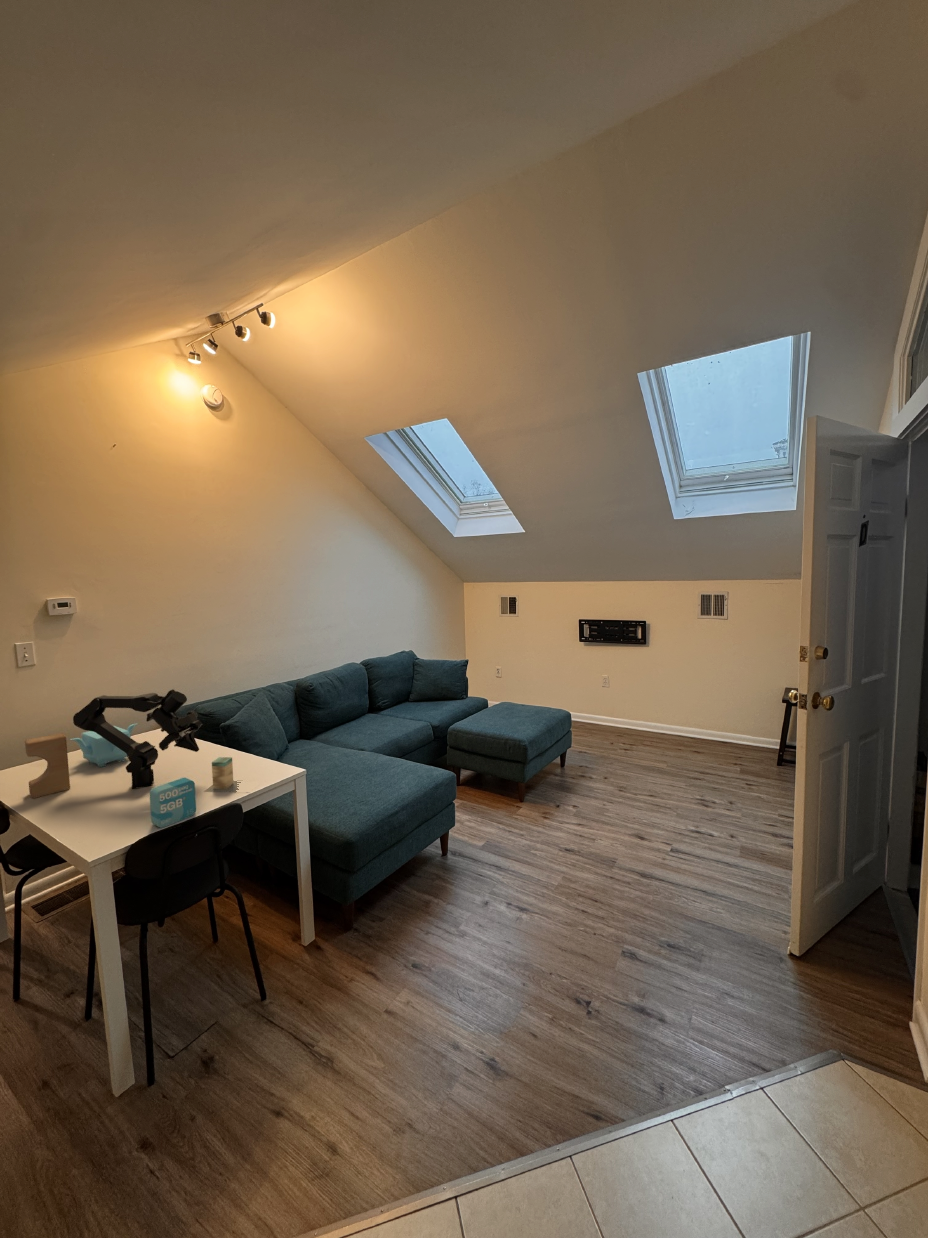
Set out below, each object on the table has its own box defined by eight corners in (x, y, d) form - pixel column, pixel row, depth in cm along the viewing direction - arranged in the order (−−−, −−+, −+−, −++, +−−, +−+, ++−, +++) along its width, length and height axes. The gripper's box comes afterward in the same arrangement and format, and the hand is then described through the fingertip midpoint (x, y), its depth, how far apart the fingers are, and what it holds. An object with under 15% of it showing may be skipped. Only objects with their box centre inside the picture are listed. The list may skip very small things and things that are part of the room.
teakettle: (122, 767, 207) (120, 732, 205) (69, 771, 202) (66, 735, 201) (140, 751, 225) (138, 718, 224) (92, 754, 221) (90, 721, 219)
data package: (158, 829, 158) (155, 792, 157) (151, 825, 161) (148, 789, 159) (196, 814, 168) (194, 779, 167) (189, 810, 171) (187, 776, 169)
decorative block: (30, 799, 179) (25, 743, 177) (29, 793, 183) (24, 739, 181) (70, 789, 186) (66, 736, 184) (68, 784, 190) (64, 732, 188)
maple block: (213, 788, 186) (211, 762, 185) (220, 782, 191) (219, 757, 190) (226, 789, 186) (224, 762, 185) (233, 783, 191) (232, 757, 190)
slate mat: (203, 792, 184) (203, 791, 184) (219, 781, 194) (218, 780, 194) (249, 794, 183) (249, 793, 183) (262, 782, 193) (262, 781, 193)
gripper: (165, 713, 177) (197, 745, 178) (196, 699, 196) (225, 728, 196) (144, 735, 179) (176, 766, 179) (178, 719, 197) (207, 747, 197)
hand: (198, 750), depth 188 cm, fingers closed
